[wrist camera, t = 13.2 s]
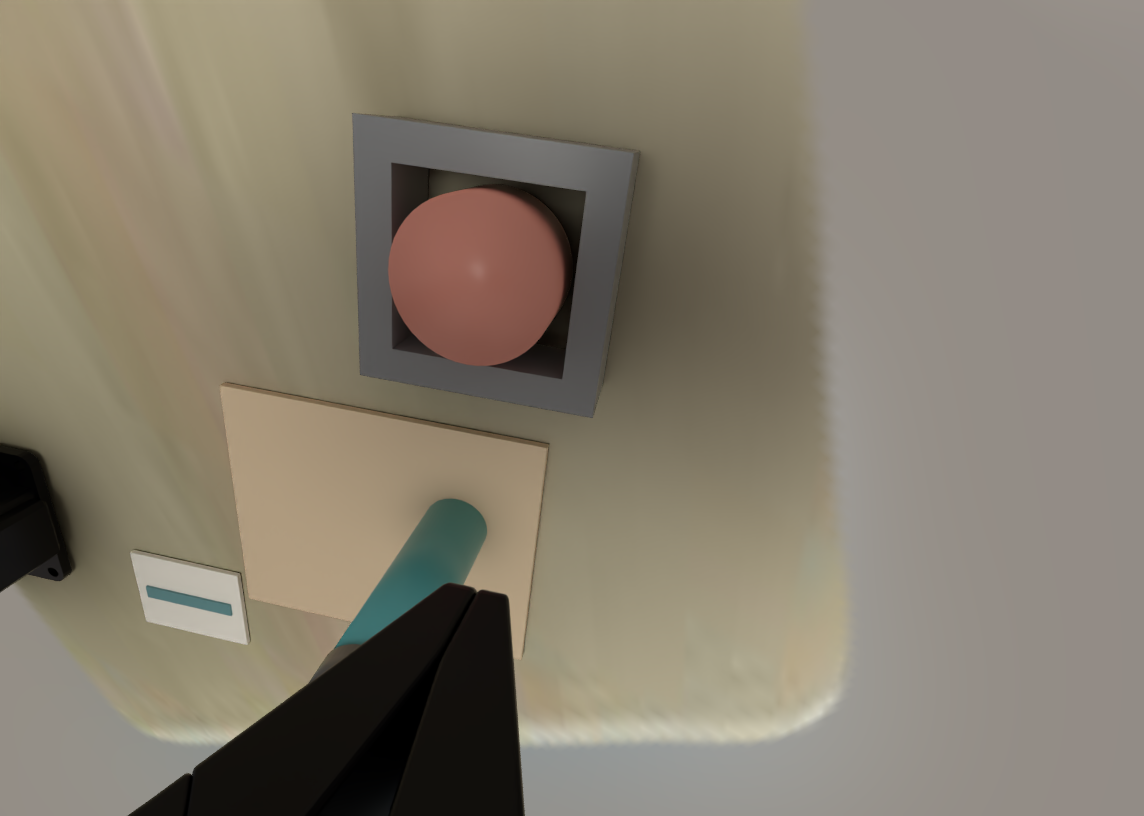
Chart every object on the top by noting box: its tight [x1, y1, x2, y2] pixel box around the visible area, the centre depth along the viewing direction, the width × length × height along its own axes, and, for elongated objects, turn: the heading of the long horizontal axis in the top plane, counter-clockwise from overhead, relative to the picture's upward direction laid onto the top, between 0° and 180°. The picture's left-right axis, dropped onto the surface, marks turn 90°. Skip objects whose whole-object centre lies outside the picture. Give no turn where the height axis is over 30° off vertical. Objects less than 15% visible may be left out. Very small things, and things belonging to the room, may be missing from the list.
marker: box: [308, 499, 487, 684], centre depth 18 cm, size 2×2×8 cm
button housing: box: [352, 113, 640, 418], centre depth 17 cm, size 7×7×2 cm
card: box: [130, 550, 250, 645], centre depth 26 cm, size 5×4×1 cm
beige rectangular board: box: [219, 382, 549, 660], centre depth 23 cm, size 12×10×1 cm
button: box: [388, 184, 573, 366], centre depth 16 cm, size 4×4×2 cm
